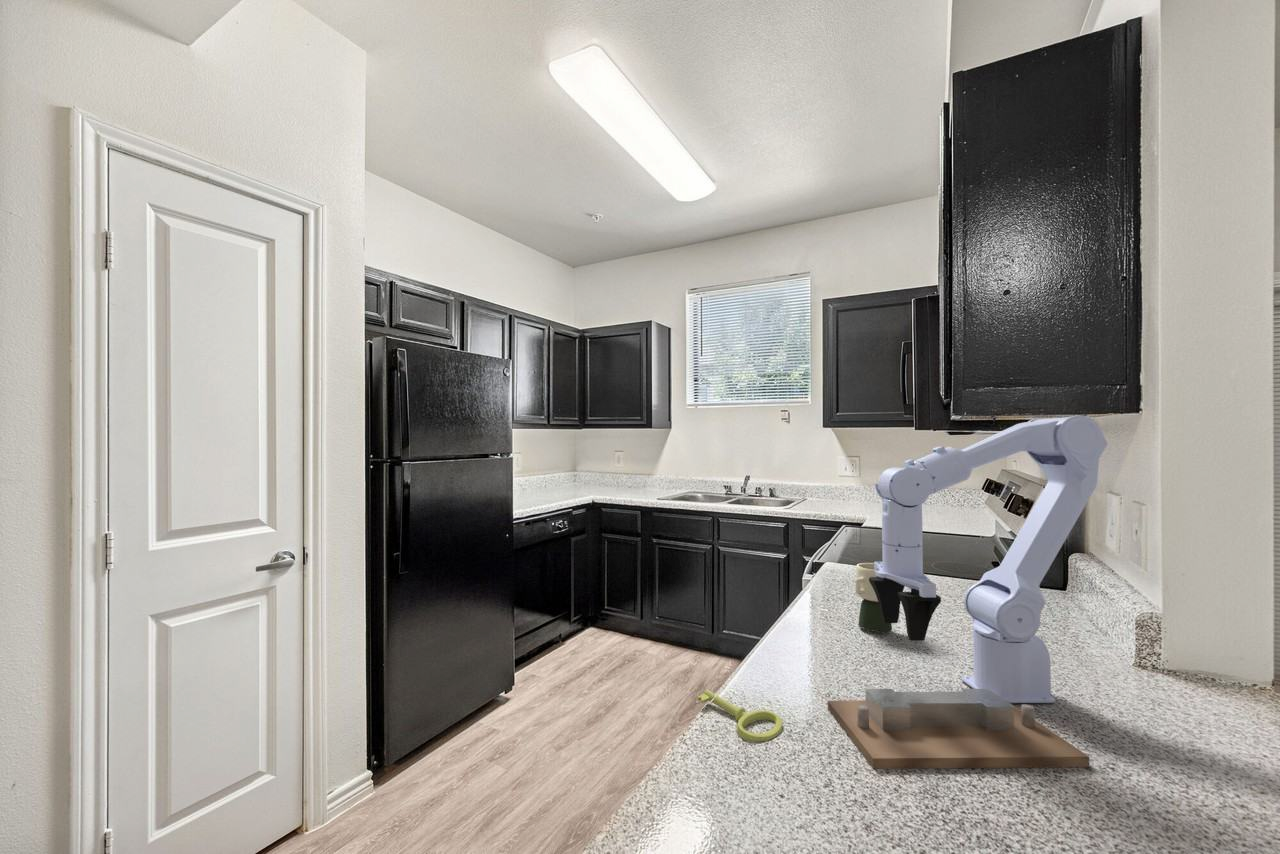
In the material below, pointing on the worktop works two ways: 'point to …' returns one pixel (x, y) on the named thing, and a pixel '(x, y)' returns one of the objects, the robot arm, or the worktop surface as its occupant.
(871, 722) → the rack board
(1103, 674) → the worktop surface
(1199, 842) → the worktop surface
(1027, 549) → the robot arm
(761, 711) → the key
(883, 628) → the character mug
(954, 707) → the grey stepped bar
